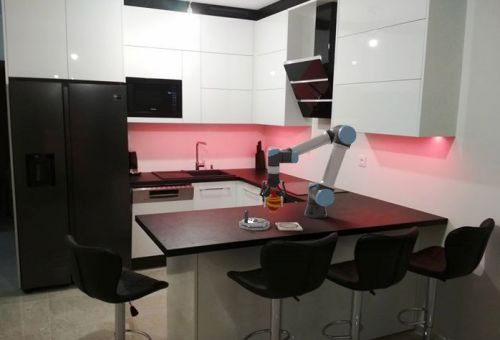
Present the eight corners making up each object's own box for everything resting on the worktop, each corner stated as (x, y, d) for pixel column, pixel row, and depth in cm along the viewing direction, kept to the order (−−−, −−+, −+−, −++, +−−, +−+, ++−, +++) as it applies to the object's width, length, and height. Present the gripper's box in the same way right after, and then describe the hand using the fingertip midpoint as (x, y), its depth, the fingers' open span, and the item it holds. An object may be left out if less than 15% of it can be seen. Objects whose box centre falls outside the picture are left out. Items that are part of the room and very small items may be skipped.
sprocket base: (267, 222, 263) (267, 220, 263) (272, 230, 244) (272, 229, 244) (237, 222, 260) (237, 220, 260) (240, 230, 242) (240, 229, 242)
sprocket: (274, 225, 250) (275, 211, 249) (253, 229, 240) (253, 214, 238) (255, 219, 264) (256, 205, 263) (234, 222, 254) (234, 208, 253)
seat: (297, 224, 261) (297, 222, 261) (302, 230, 247) (302, 228, 247) (275, 224, 259) (275, 222, 259) (279, 230, 245) (279, 228, 245)
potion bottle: (269, 209, 273) (270, 187, 271) (284, 211, 268) (284, 188, 266) (262, 212, 265) (262, 189, 263) (276, 214, 259) (276, 191, 257)
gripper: (290, 171, 268) (289, 205, 271) (255, 172, 265) (254, 205, 268) (292, 173, 261) (291, 207, 263) (256, 173, 258) (256, 208, 261)
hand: (273, 206), depth 266 cm, fingers closed on potion bottle, 10 cm apart
